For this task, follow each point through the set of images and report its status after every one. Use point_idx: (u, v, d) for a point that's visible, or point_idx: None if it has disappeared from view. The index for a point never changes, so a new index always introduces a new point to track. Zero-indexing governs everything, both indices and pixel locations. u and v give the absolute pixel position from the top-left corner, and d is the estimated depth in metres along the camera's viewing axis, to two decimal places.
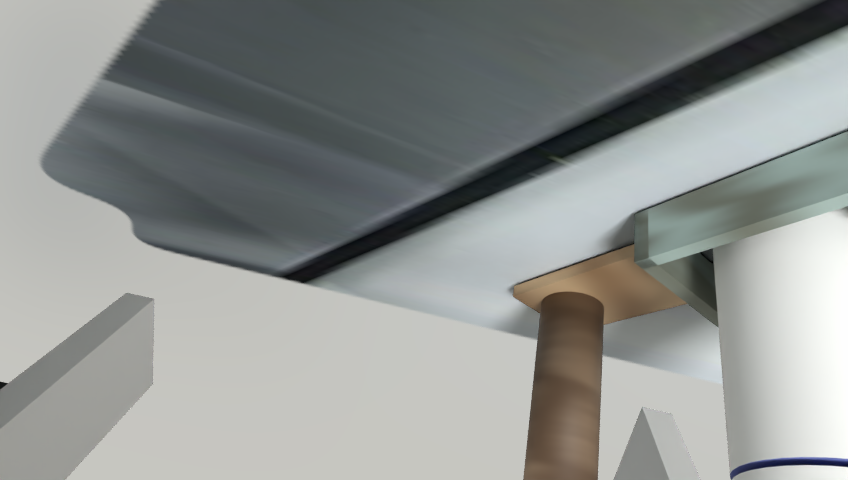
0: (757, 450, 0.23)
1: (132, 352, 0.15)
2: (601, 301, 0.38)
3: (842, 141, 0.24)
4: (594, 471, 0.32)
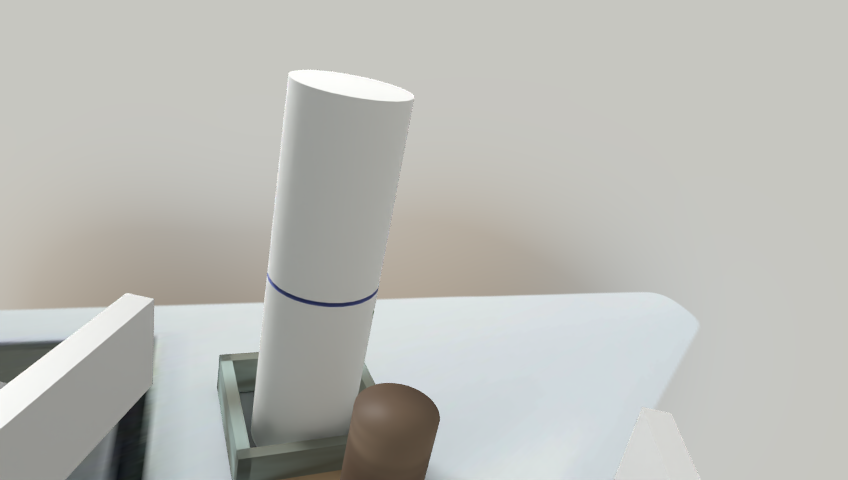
0: (274, 294, 0.36)
1: (132, 352, 0.15)
2: None
3: (218, 391, 0.44)
4: None
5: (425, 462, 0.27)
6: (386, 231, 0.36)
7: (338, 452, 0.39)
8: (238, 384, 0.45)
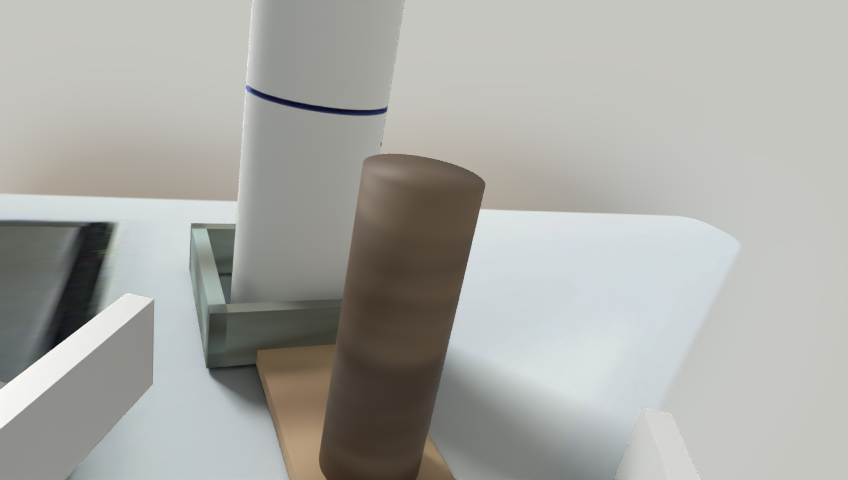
0: (254, 103, 0.28)
1: (132, 352, 0.15)
2: None
3: (190, 269, 0.36)
4: None
5: (466, 243, 0.19)
6: (397, 20, 0.28)
7: (339, 317, 0.30)
8: (215, 262, 0.37)
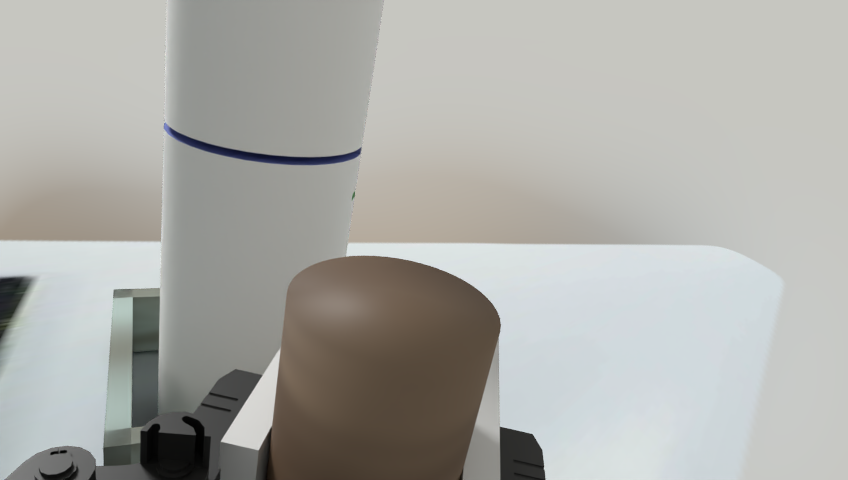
0: (171, 148, 0.20)
1: None
2: None
3: None
4: None
5: (468, 428, 0.11)
6: (372, 31, 0.20)
7: None
8: (146, 337, 0.29)
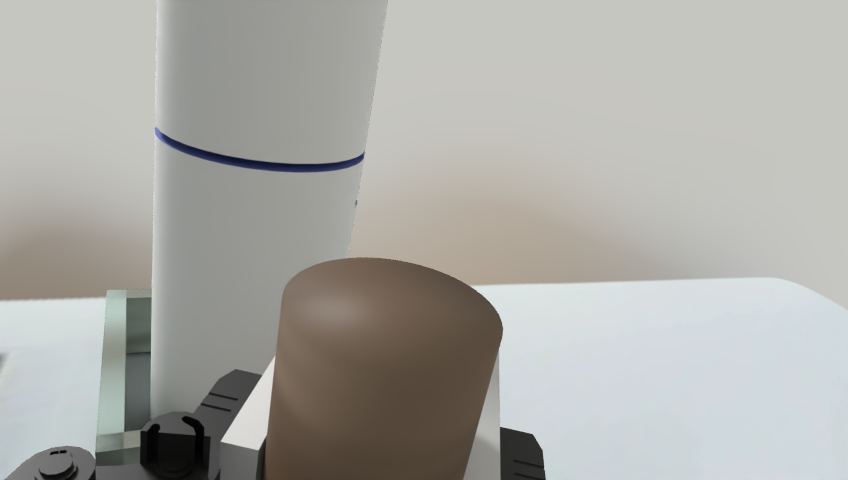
0: (164, 155, 0.19)
1: None
2: None
3: None
4: None
5: (469, 435, 0.11)
6: (377, 29, 0.19)
7: None
8: (140, 339, 0.28)
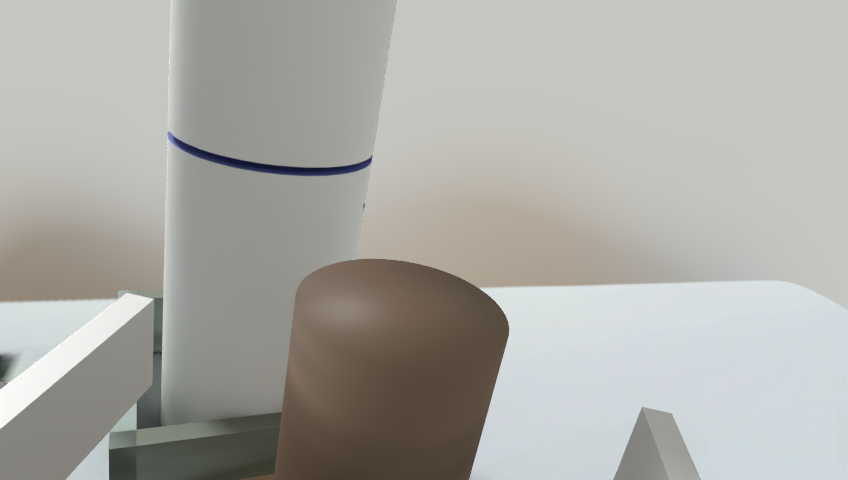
0: (177, 159, 0.19)
1: (132, 352, 0.15)
2: None
3: None
4: None
5: (476, 432, 0.11)
6: (386, 36, 0.19)
7: None
8: None
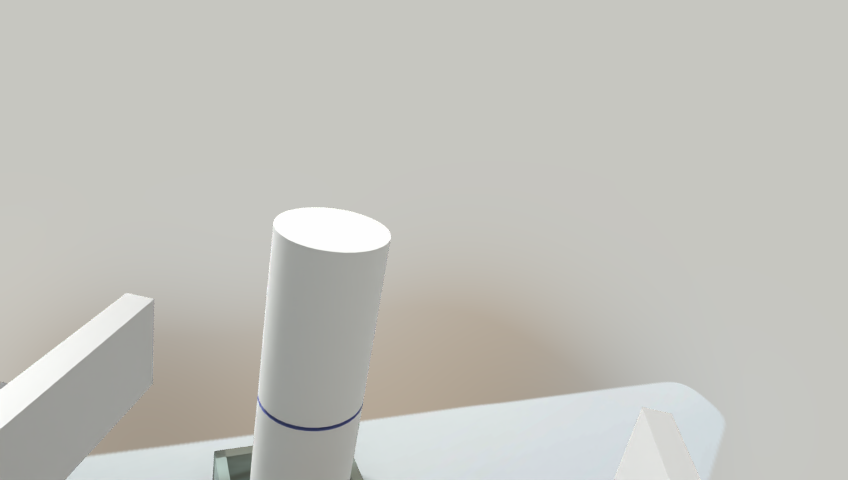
0: (265, 419, 0.39)
1: (132, 352, 0.15)
2: None
3: None
4: None
5: None
6: (369, 355, 0.39)
7: None
8: (232, 477, 0.48)
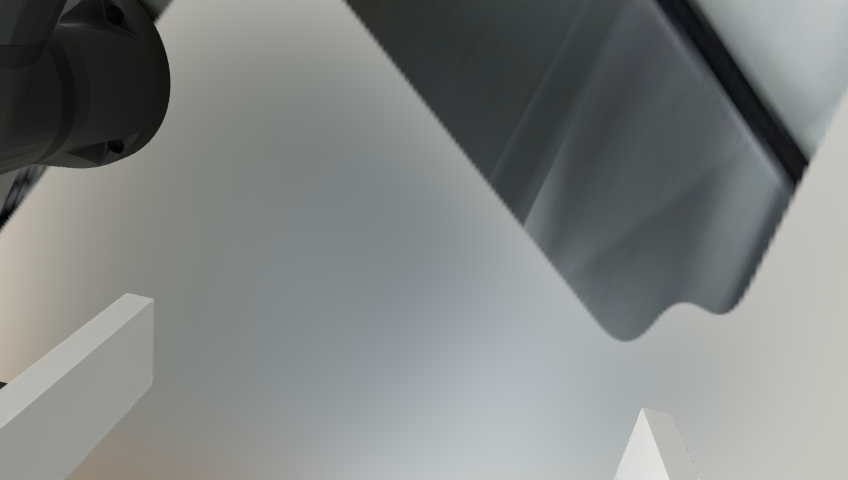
0: None
1: (132, 352, 0.15)
2: None
3: None
4: None
5: None
6: None
7: None
8: None
